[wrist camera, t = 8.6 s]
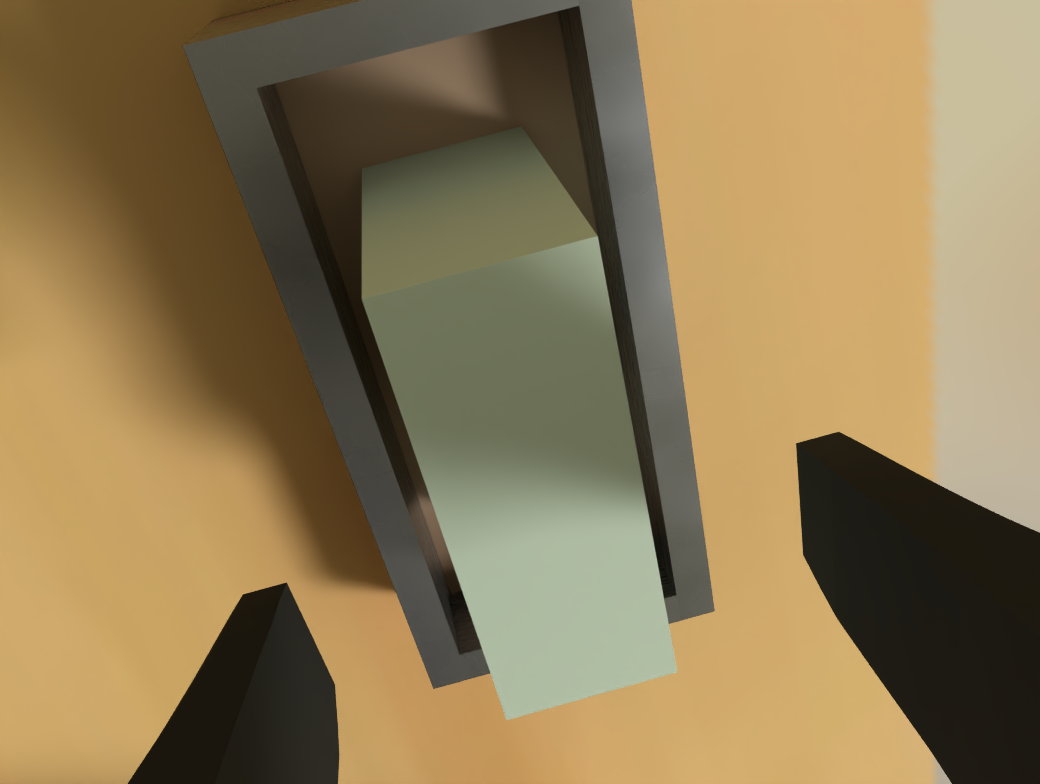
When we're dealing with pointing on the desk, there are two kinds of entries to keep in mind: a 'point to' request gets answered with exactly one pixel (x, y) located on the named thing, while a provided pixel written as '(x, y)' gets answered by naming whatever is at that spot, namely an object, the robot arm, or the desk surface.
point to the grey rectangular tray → (423, 127)
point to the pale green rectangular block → (517, 414)
